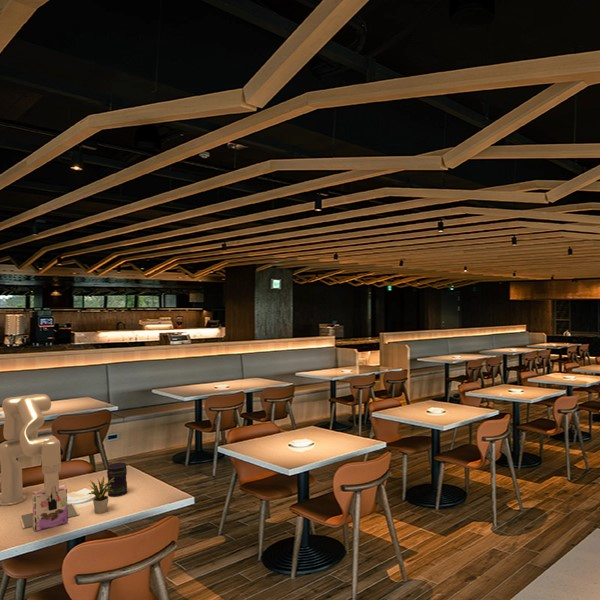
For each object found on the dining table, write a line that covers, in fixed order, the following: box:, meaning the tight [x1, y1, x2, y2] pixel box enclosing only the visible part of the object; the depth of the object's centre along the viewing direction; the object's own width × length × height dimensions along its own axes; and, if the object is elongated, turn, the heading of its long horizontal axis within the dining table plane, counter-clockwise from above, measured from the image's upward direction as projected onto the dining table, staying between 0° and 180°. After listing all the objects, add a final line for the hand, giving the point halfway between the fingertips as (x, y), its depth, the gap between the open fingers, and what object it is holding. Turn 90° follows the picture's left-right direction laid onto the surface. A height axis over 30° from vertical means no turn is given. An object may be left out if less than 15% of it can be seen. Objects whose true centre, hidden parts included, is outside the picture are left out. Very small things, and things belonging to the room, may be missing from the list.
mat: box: [18, 502, 80, 530], centre depth 240 cm, size 16×24×1 cm
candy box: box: [31, 484, 69, 532], centre depth 230 cm, size 14×6×16 cm, turn 126°
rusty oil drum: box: [106, 462, 128, 498], centre depth 267 cm, size 10×10×15 cm
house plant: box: [87, 476, 114, 514], centre depth 244 cm, size 14×14×16 cm
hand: (52, 509), depth 223 cm, fingers closed
